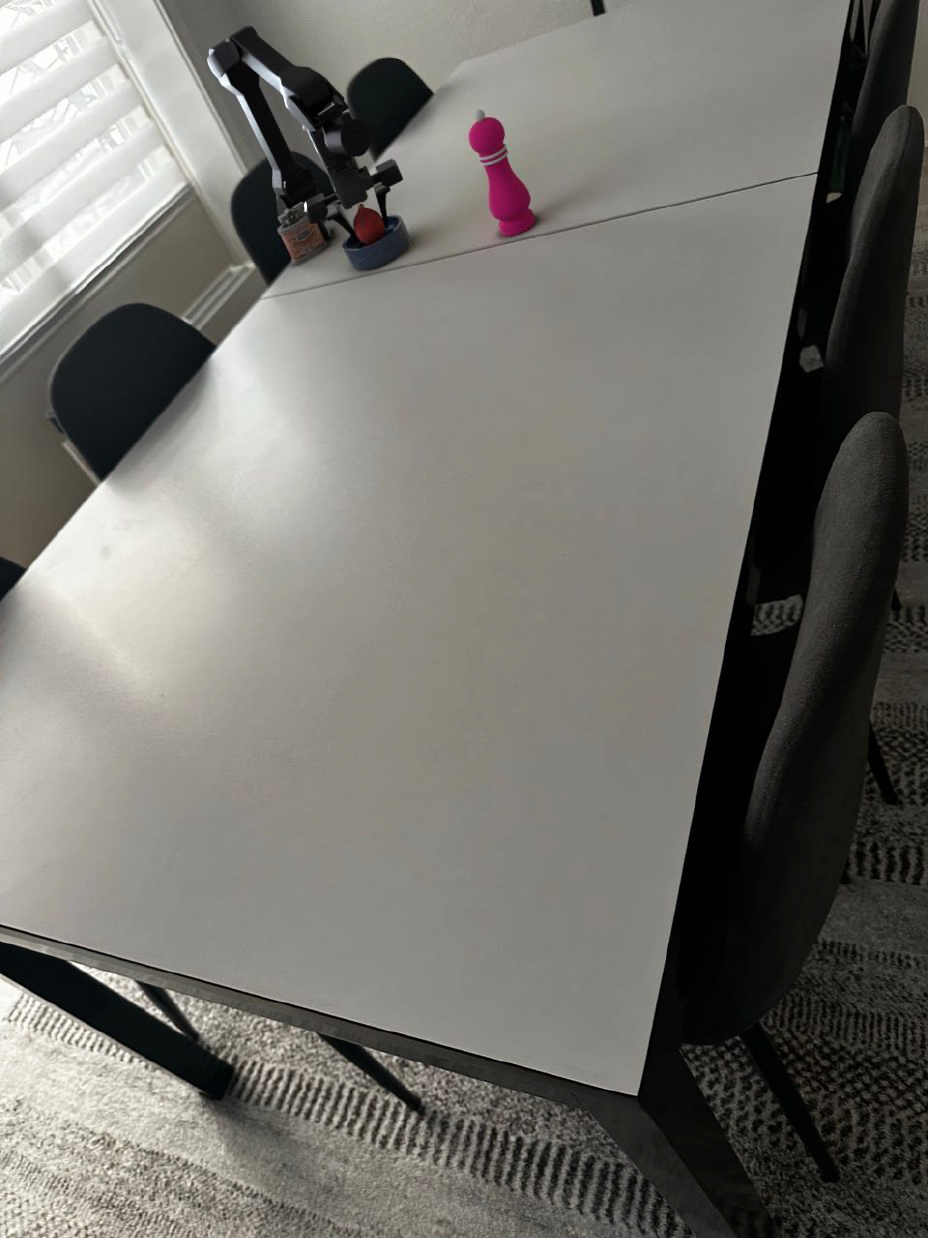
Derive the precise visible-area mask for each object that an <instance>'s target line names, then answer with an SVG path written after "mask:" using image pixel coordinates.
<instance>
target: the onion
mask: <svg viewBox="0 0 928 1238" xmlns="http://www.w3.org/2000/svg"><path fill="white" fill-rule="evenodd" d="M352 223H353V224H352V227H353V229H354V231H355V234H356V236H357V237H358V239H359V240H361V241H362V242H364V243H366V244H370V245H371V244H373V243H375V242H377V241H379V240H381V238H382V236H383V234H384V231H385V224H384V221H383V219H382V215H381V213H379V212H378V211H377V210H375V209H373V208H371V207H365V204H364V203H358V204H357V211H356V214H355V215H354V218H353V222H352Z"/></svg>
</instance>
